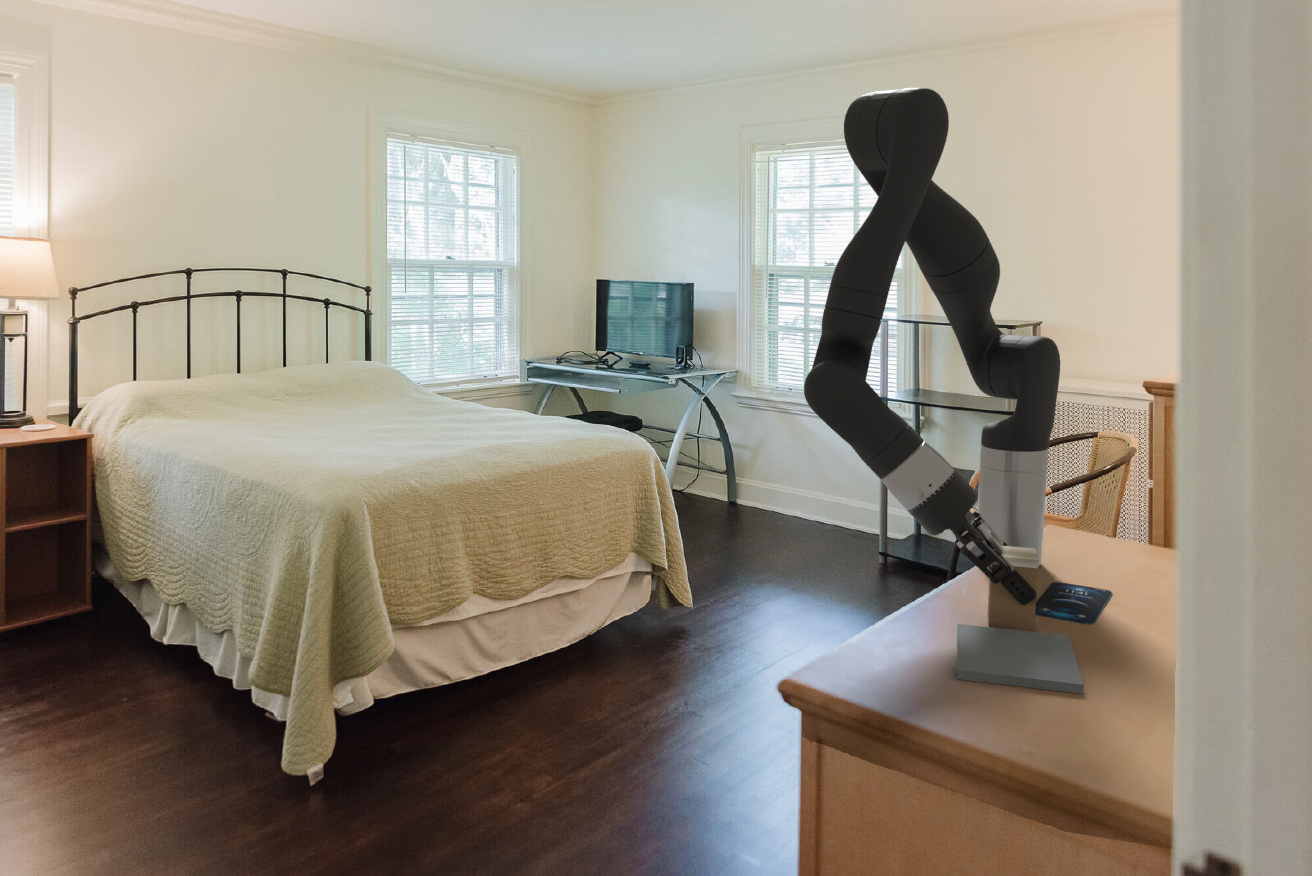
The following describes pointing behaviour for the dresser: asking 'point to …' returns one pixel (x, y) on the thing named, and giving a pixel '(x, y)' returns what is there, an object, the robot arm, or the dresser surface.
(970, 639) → the slate mat
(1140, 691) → the dresser surface
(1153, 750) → the dresser surface
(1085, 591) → the smartphone
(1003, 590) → the tan rectangular block
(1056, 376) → the robot arm
